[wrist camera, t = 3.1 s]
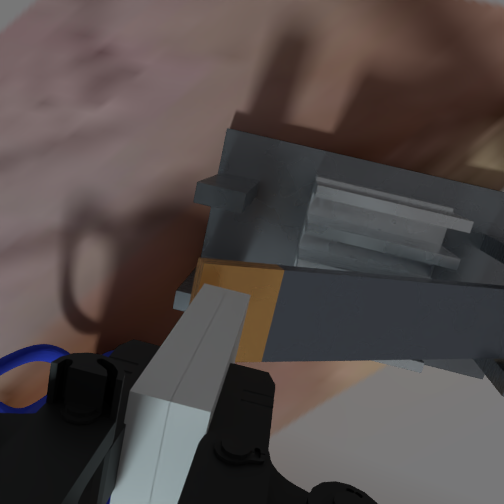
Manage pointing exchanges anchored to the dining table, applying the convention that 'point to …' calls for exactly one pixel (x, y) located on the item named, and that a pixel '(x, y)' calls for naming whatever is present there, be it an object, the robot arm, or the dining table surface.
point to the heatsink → (351, 223)
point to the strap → (357, 314)
